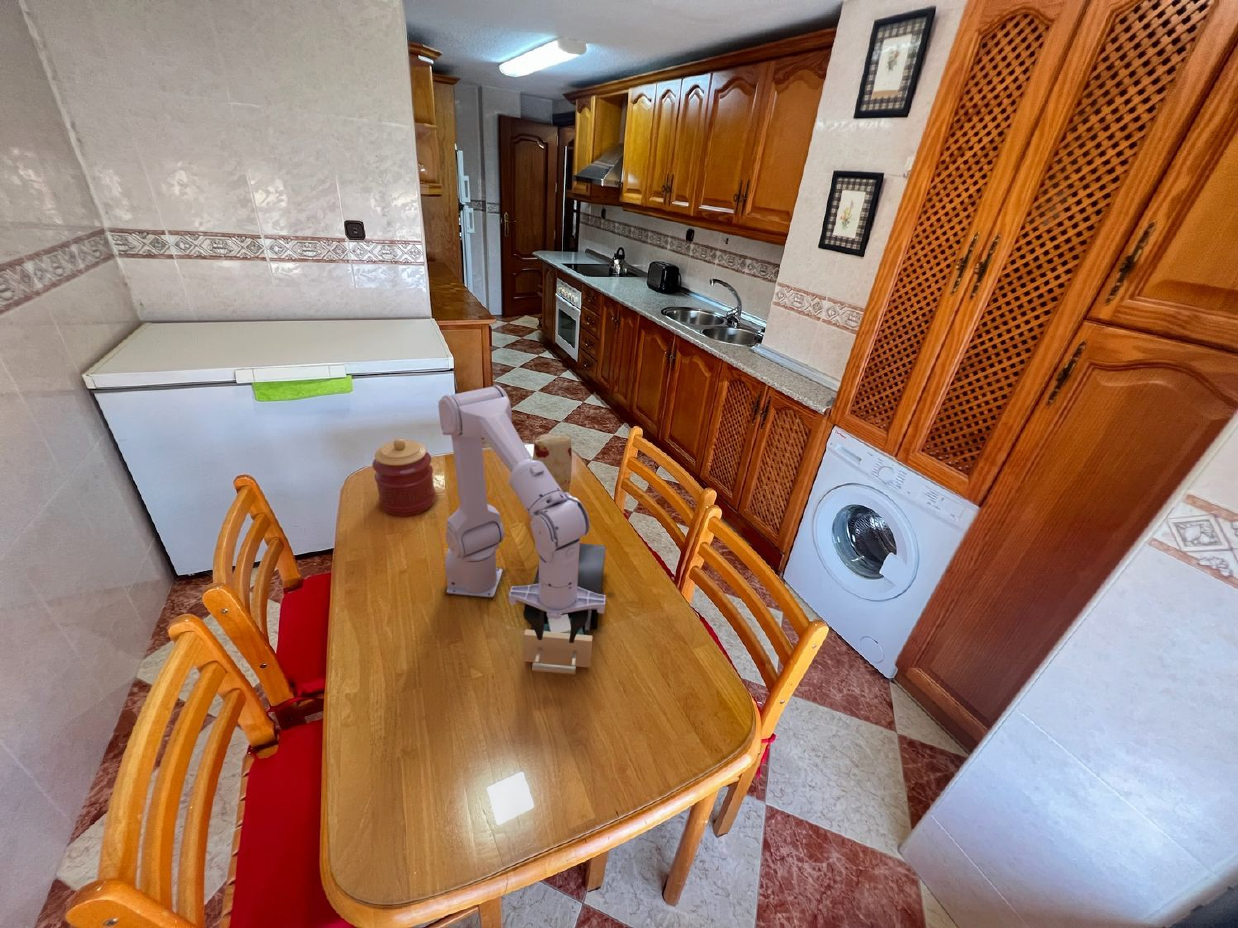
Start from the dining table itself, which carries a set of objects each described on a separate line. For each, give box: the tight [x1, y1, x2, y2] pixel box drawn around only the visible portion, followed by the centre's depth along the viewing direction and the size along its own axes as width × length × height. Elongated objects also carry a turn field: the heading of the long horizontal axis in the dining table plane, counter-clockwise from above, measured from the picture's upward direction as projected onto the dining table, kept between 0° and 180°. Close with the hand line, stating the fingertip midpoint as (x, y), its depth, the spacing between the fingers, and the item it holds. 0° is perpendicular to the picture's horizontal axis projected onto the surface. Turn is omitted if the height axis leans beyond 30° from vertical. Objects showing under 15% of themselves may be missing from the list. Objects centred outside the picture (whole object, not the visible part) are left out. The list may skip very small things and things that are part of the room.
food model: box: [532, 433, 573, 494], centre depth 123 cm, size 10×7×20 cm
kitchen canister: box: [371, 438, 437, 517], centre depth 119 cm, size 13×13×18 cm
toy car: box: [544, 614, 584, 635], centre depth 88 cm, size 7×5×4 cm
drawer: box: [523, 609, 593, 676], centre depth 88 cm, size 18×11×7 cm, turn 177°
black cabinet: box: [532, 542, 607, 631], centre depth 98 cm, size 15×13×9 cm
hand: (556, 636), depth 80 cm, fingers open, 4 cm apart
